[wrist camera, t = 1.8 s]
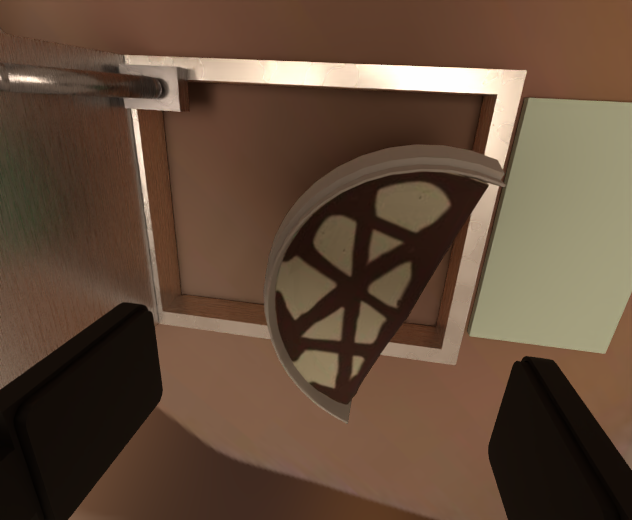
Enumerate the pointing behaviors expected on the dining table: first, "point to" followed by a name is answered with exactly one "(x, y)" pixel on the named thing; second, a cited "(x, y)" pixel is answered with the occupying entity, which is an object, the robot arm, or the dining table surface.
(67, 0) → the dining table surface
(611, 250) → the mat
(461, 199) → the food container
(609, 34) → the dining table surface
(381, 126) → the dining table surface
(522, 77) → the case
